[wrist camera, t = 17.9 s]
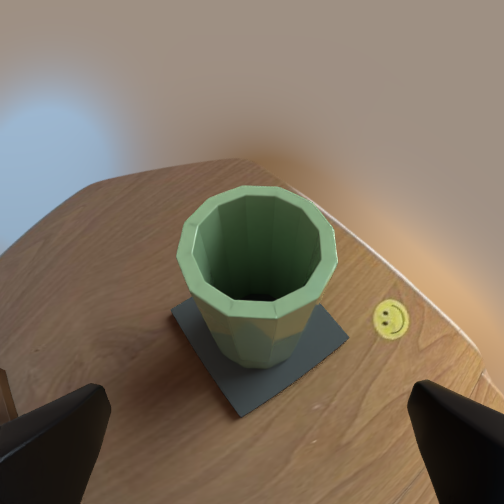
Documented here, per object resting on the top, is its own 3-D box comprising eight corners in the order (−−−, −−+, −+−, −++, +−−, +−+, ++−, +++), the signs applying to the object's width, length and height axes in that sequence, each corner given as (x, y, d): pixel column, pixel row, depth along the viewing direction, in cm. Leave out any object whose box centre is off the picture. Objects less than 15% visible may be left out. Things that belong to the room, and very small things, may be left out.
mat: (346, 340, 21) (349, 337, 20) (241, 417, 18) (240, 417, 17) (271, 253, 25) (271, 248, 25) (172, 313, 23) (170, 309, 22)
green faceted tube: (271, 385, 19) (284, 352, 9) (196, 336, 21) (147, 261, 11) (317, 312, 21) (358, 224, 12) (246, 272, 24) (238, 168, 14)
